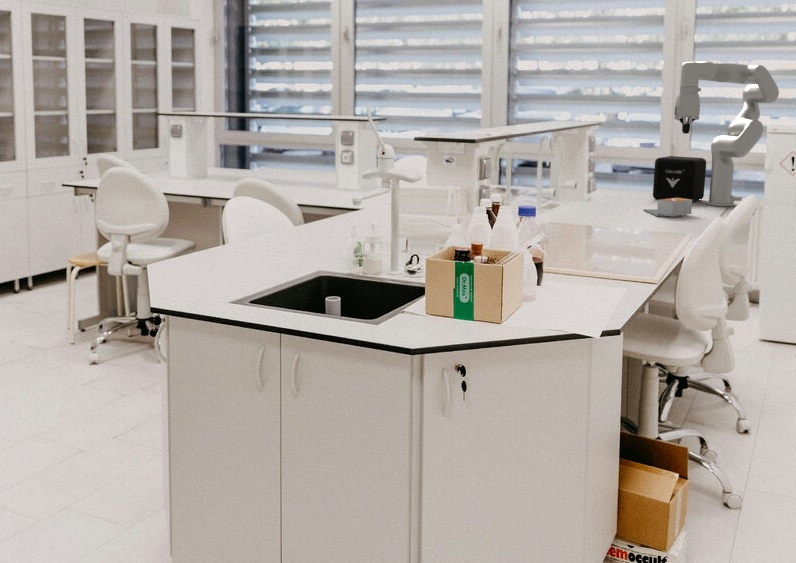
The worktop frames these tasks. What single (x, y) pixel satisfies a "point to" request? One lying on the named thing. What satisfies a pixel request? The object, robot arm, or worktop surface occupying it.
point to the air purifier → (679, 178)
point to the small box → (674, 206)
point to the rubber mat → (654, 212)
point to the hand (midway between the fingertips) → (685, 133)
